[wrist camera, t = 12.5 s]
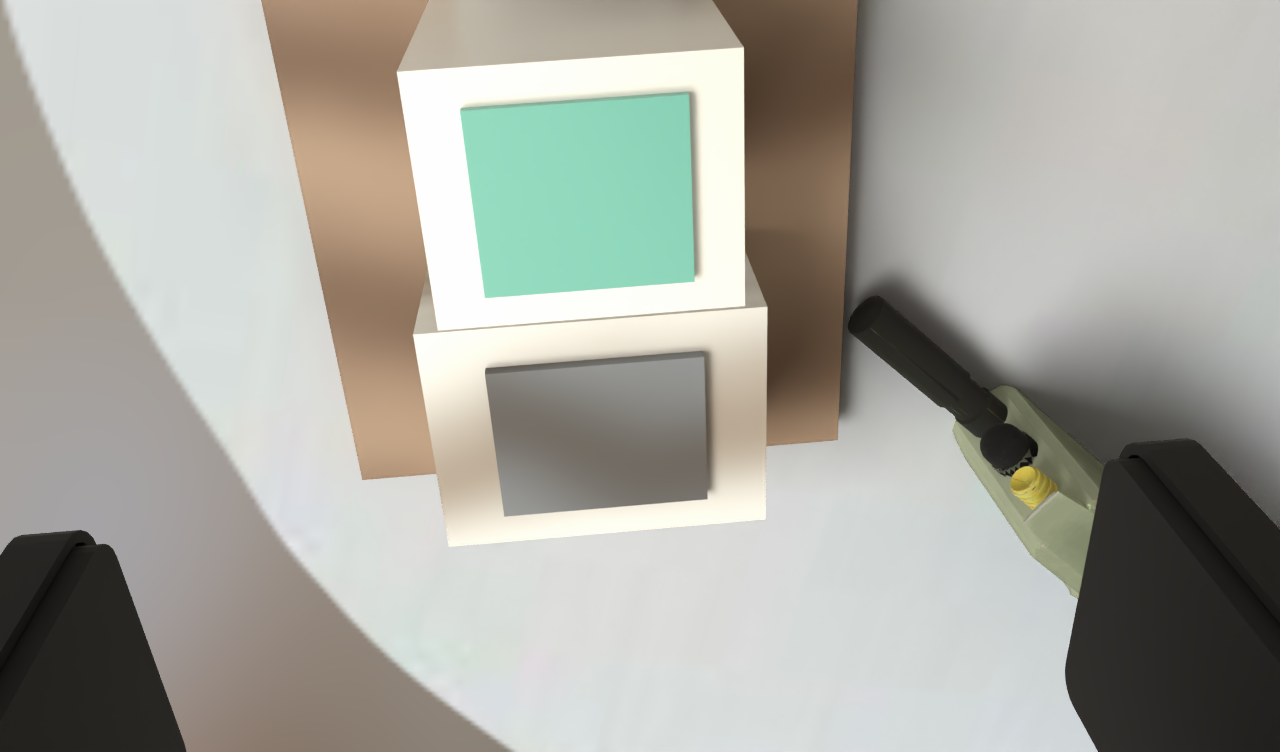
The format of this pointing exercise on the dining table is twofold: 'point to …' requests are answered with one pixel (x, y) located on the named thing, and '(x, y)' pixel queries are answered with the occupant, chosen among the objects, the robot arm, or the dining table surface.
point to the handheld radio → (1000, 444)
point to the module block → (576, 158)
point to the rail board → (391, 232)
